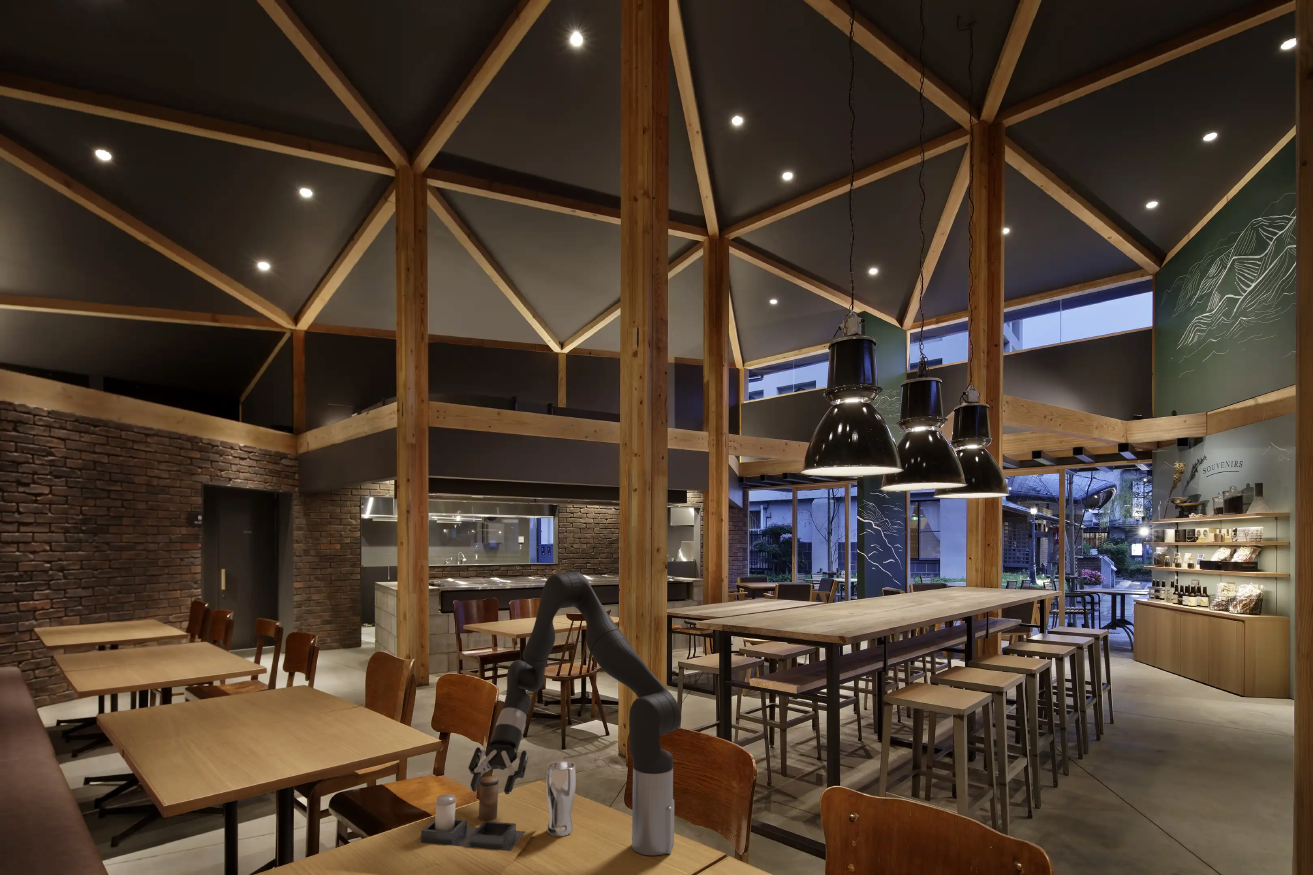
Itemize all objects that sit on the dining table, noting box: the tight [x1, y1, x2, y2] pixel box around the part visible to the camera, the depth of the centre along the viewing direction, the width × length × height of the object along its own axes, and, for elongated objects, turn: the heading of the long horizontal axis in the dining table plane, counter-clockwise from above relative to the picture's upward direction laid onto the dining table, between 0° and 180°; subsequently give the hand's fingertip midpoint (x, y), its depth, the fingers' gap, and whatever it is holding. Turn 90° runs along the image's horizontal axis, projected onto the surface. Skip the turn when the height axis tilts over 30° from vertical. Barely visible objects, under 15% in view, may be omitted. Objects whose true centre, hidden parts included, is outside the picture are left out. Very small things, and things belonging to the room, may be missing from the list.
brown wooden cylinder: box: [478, 775, 500, 822], centre depth 173 cm, size 4×4×10 cm
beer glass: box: [545, 760, 577, 837], centre depth 168 cm, size 7×7×15 cm
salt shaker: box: [434, 793, 457, 831], centre depth 163 cm, size 4×4×8 cm
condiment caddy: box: [417, 818, 527, 852], centre depth 161 cm, size 22×10×3 cm, turn 81°
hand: (489, 791), depth 174 cm, fingers open, 8 cm apart
